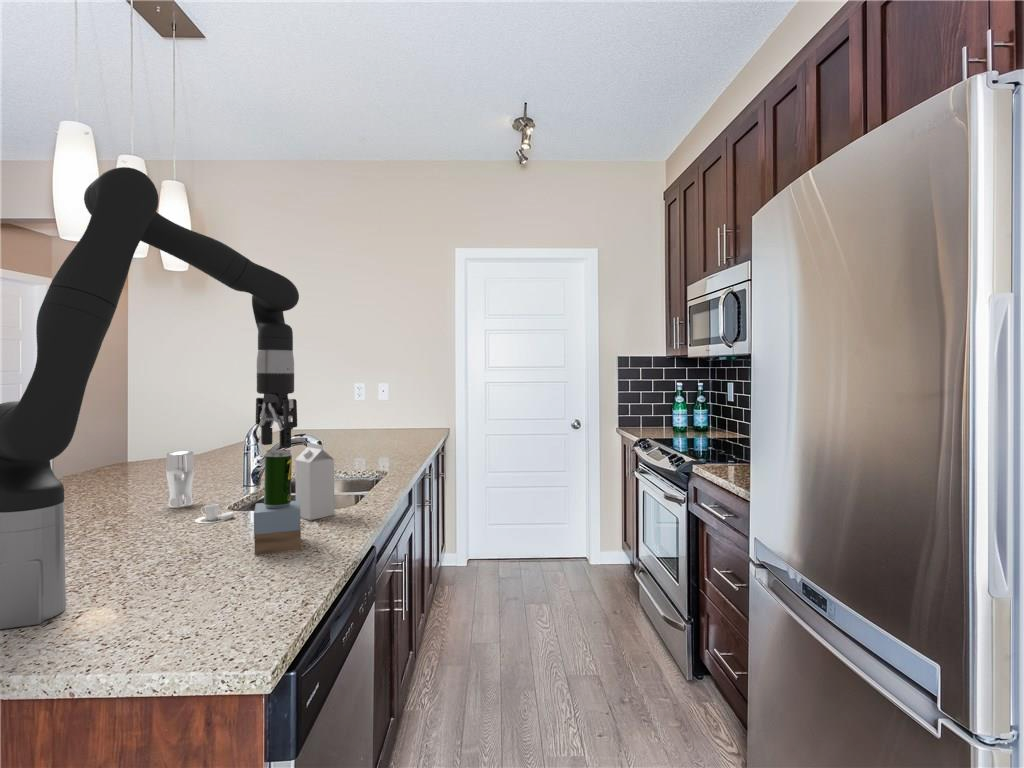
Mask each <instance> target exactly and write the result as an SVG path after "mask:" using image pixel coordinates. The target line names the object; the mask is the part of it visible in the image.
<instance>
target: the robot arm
mask: <svg viewBox="0 0 1024 768" xmlns="http://www.w3.org/2000/svg"><path fill="white" fill-rule="evenodd" d="M159 201H160V200H159V192H158V189H157V187H156V186H155V184H154V182H153V181H152V180H151V178H150V177H149V175H147V174H146V173H144V172H142V170H138V169H136V168H134V167H133V168H132V167H127V166H123V167H120V166H119V167H115V168H112V169H109V170H107V171H105V172H103V173H101V174H100V175H99V176H98V177H97V178H96V179H94V180H93V181H92V182H91V183H90V184H89V185H88V186H87V187H86V188H85V191H84V196H83V202H84V205H85V208H86V209H87V211H88V213H89V215H91V216H90V218H89V222H88V224H87V226H86V229H85V231H84V232H83V234H82V236H81V237H80V239H79V241H78V242H77V243H76V245H75V246H74V248H72V250H71V251H70V253H69V254H68V256H66V258H65V260H64V261H63V262H62V264H61V265H60V267H59V269H58V270H57V272H56V274H55V275H54V277H53V279H52V280H51V283H50V284H49V286H48V288H47V292H46V294H45V296H44V298H43V300H42V303H41V306H40V308H39V310H38V314H37V319H36V329H35V331H36V333H35V334H36V362H35V366H34V370H33V373H32V375H31V377H30V379H29V381H28V384H27V386H26V388H25V390H24V392H23V395H22V396H21V398H20V399H19V400H16V401H14V400H13V401H7V402H2V403H0V630H4V629H11V628H20V627H26V626H33V625H41V624H42V623H43V622H44V621H47V620H48V619H51V618H54V617H56V616H58V615H60V614H62V613H63V612H64V611H65V610H66V609H67V608H66V607H67V600H66V598H67V596H66V595H67V593H66V589H67V588H66V585H67V584H66V542H65V540H66V538H65V537H66V535H65V533H66V532H65V520H66V519H65V487H64V484H63V483H62V482H61V481H60V480H59V479H58V478H57V477H56V475H55V474H54V472H53V469H52V466H51V461H52V460H53V459H56V458H57V457H58V456H60V455H61V454H62V453H63V452H64V451H66V449H67V448H68V446H69V445H70V443H71V442H72V439H73V437H74V434H75V432H76V429H77V424H78V420H79V416H80V412H81V408H82V404H83V400H84V396H85V392H86V389H87V385H88V382H89V379H90V377H91V376H90V375H91V373H92V370H93V369H94V366H95V364H96V361H97V358H98V356H99V352H100V351H101V347H102V344H103V342H104V340H105V338H106V335H107V332H108V330H109V328H110V326H111V323H112V320H113V318H114V316H115V314H116V310H117V308H118V304H119V301H120V298H121V295H122V292H123V289H124V286H125V283H126V280H127V278H128V274H129V273H130V268H131V265H132V262H133V259H134V255H135V252H136V250H137V248H138V246H139V244H140V242H142V243H145V244H147V245H149V246H151V247H154V248H156V249H158V250H160V251H163V252H164V253H166V254H168V255H171V256H172V257H174V258H177V259H179V260H180V261H182V262H184V263H186V264H188V265H190V266H192V267H194V268H195V269H197V270H199V271H200V272H203V273H205V275H207V276H209V277H211V278H212V279H214V280H217V281H218V282H219V283H221V284H223V285H224V286H226V287H228V288H230V289H231V290H234V291H237V292H244V293H247V294H250V295H251V306H252V311H253V316H254V321H255V325H256V329H257V355H256V356H257V357H256V392H257V393H258V394H260V395H261V394H262V395H263V397H256V399H255V425H258V426H259V428H260V431H261V433H260V437H261V438H260V439H261V440H260V441H261V442H260V443H261V445H262V446H268V445H272V444H273V425H274V423H276V424H277V425H278V428H279V449H288V448H289V449H290V448H291V446H292V430H293V429H294V428H297V427H298V406H297V405H298V403H297V399H295V398H289V394H294V393H295V358H294V351H293V350H294V336H293V335H294V334H293V332H294V331H293V327H291V326H290V325H289V324H287V323H286V321H285V316H284V315H285V314H284V312H286V311H290V310H292V309H294V308H295V307H296V306H297V304H298V303H299V300H300V295H299V291H298V288H297V286H296V285H295V284H294V282H293V281H291V280H290V279H289V278H287V277H286V276H284V275H282V274H280V273H278V272H276V271H273V270H272V269H269V268H267V267H265V266H262V265H260V264H257V263H255V262H254V261H252V260H250V259H249V258H248V257H246V256H244V255H243V254H241V253H240V252H238V251H237V250H236V249H234V248H232V247H230V246H228V245H227V244H226V243H223V242H221V241H219V240H217V239H215V238H213V237H210V236H207V235H205V234H202V233H200V232H197V231H193V230H191V229H188V228H186V227H184V226H182V225H180V224H177V223H176V222H173V221H171V220H170V219H168V218H167V217H164V216H163V215H162V214H160V213H158V207H159Z"/></svg>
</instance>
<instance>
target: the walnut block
mask: <svg viewBox="0 0 1024 768" xmlns="http://www.w3.org/2000/svg"><path fill="white" fill-rule="evenodd" d="M253 535H254V534H253ZM301 550H302V528H301V526H300V530H296V531H286V532H276V533H265V534H255V535H254V555H255V556H256V555H257V556H258V555H264V554H274V553H282V552H283V553H284V552H291V551H292V552H293V551H301Z"/></svg>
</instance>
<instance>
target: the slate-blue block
mask: <svg viewBox="0 0 1024 768" xmlns="http://www.w3.org/2000/svg"><path fill="white" fill-rule="evenodd" d="M253 511H254V512H253V535H255V534H265V533H276V532H286V531H296V530H300V527H301V517H300V502H299V500H296V499H295V500H291V503H290V505H289V506H288V507H284V508H267V507H265V504H264V502H261V503H255V506H254V510H253Z"/></svg>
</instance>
